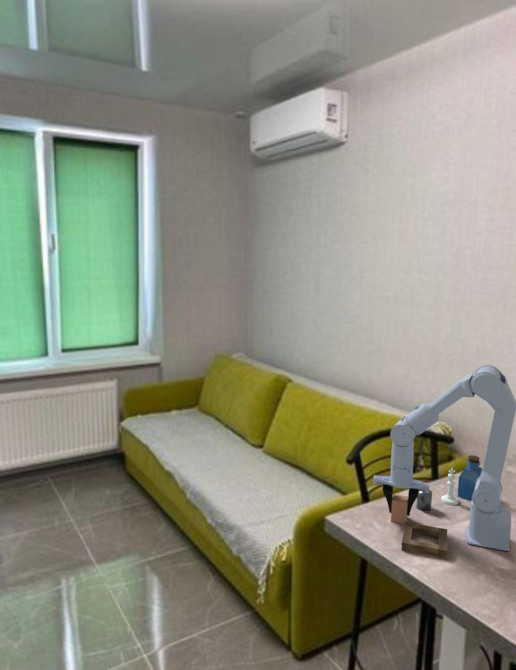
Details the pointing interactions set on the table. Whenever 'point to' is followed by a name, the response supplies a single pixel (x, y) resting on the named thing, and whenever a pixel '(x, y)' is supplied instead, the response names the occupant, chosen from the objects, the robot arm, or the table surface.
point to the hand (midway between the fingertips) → (399, 512)
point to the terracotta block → (399, 509)
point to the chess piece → (450, 491)
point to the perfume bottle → (469, 478)
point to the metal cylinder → (424, 501)
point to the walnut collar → (424, 547)
